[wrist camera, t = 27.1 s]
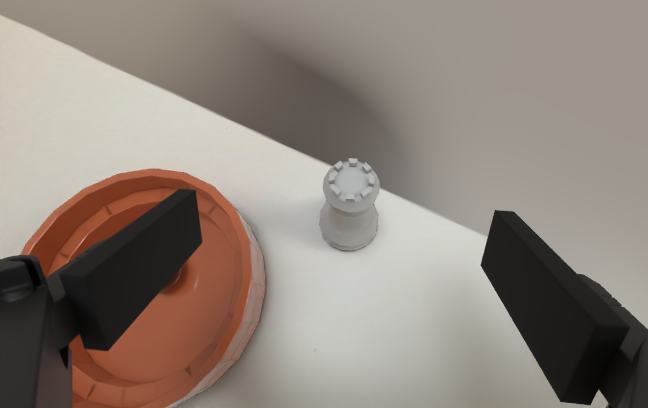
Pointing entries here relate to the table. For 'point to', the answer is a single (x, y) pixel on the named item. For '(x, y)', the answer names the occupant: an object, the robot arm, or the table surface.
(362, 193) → the rook chess piece
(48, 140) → the table surface
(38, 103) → the table surface
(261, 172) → the table surface
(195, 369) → the bowl
